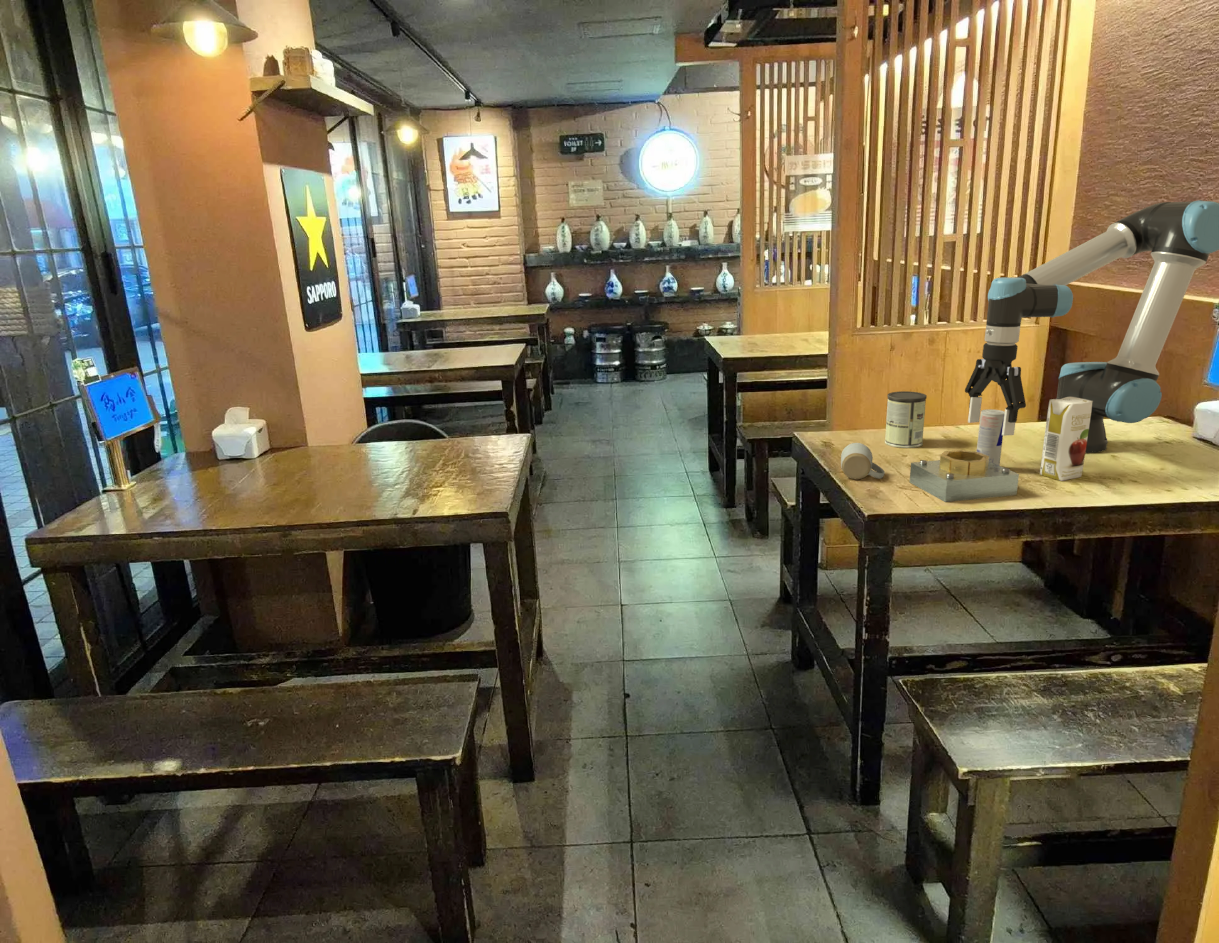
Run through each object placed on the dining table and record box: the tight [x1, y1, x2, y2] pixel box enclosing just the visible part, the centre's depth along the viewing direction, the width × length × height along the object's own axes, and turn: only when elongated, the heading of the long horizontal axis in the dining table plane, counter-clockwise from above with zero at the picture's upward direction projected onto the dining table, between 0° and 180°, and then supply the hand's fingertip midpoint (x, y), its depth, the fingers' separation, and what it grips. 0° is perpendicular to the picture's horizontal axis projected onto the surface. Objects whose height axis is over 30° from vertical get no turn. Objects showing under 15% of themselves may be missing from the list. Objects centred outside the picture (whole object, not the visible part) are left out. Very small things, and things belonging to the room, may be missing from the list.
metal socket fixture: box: [909, 449, 1020, 503], centre depth 190 cm, size 18×15×8 cm
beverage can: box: [976, 408, 1005, 466], centre depth 203 cm, size 6×6×15 cm
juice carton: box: [1039, 396, 1092, 481], centre depth 195 cm, size 8×9×19 cm
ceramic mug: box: [840, 442, 886, 480], centre depth 201 cm, size 11×8×8 cm
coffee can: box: [884, 390, 928, 449], centre depth 228 cm, size 10×10×14 cm
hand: (990, 428), depth 202 cm, fingers open, 13 cm apart
